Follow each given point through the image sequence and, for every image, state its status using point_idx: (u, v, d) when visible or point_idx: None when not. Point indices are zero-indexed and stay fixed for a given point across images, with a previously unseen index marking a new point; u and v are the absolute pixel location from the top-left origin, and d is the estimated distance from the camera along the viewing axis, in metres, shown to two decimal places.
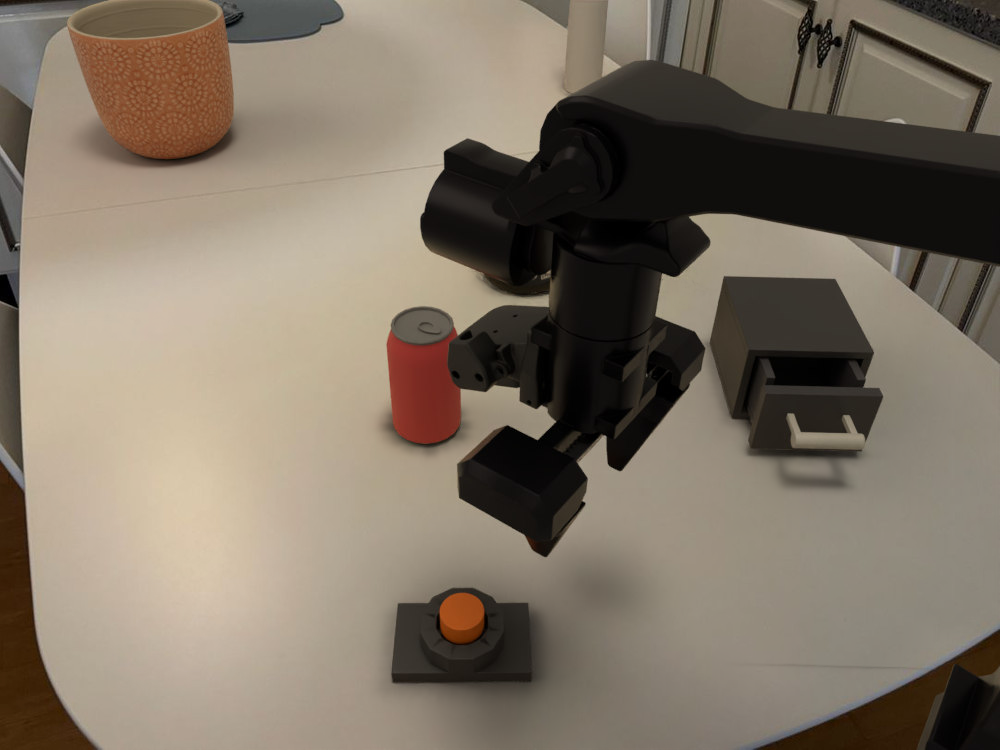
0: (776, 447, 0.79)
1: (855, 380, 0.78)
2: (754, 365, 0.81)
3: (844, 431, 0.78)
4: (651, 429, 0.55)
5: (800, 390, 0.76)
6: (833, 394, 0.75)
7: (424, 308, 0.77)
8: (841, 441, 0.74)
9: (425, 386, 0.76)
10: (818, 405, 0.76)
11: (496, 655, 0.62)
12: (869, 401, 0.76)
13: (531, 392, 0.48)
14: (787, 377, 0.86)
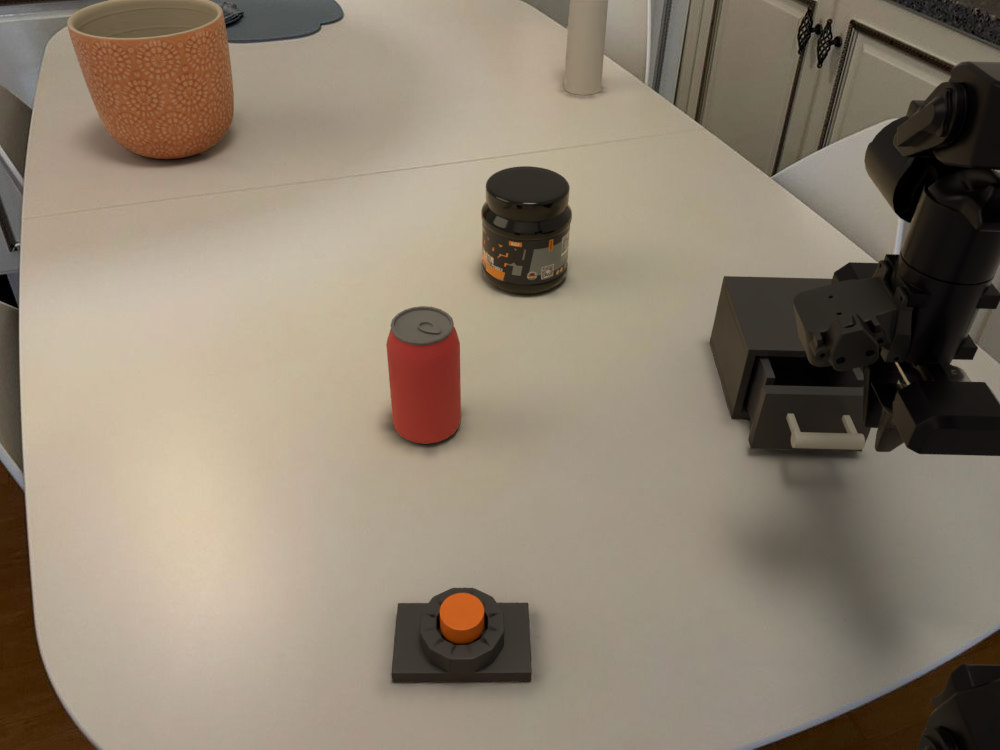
0: (776, 447, 0.79)
1: (855, 380, 0.78)
2: (754, 365, 0.81)
3: (844, 431, 0.78)
4: None
5: (800, 390, 0.76)
6: (833, 394, 0.75)
7: (424, 308, 0.77)
8: (841, 441, 0.74)
9: (425, 386, 0.76)
10: (818, 405, 0.76)
11: (496, 655, 0.62)
12: None
13: (902, 349, 0.56)
14: (787, 377, 0.86)
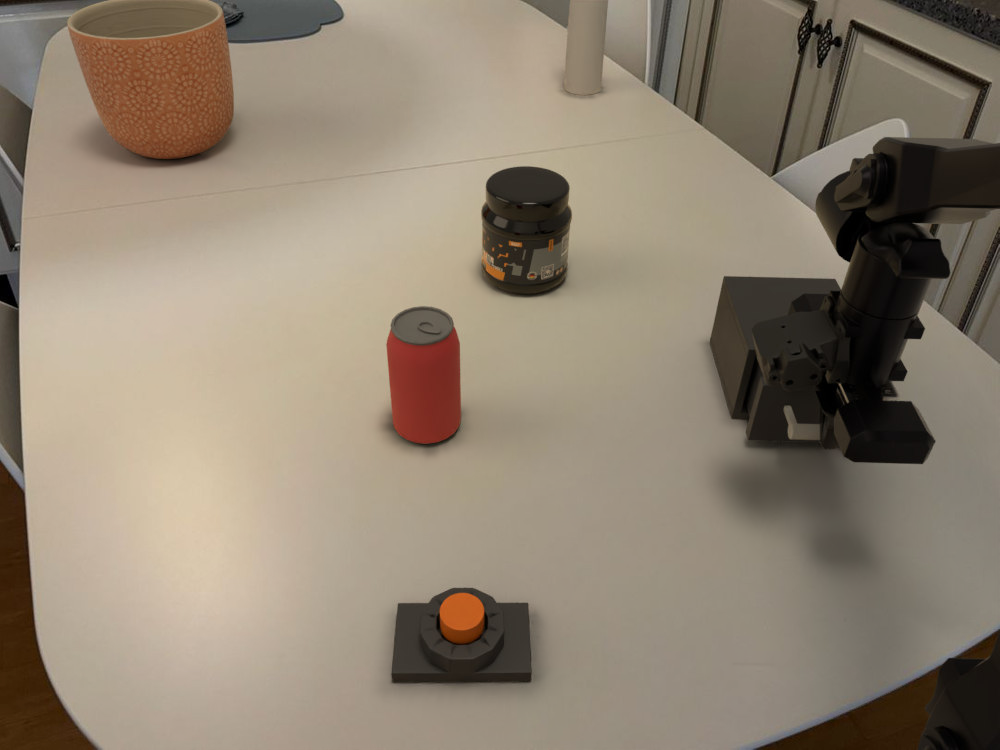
0: (773, 439, 0.80)
1: None
2: None
3: None
4: None
5: None
6: None
7: (424, 308, 0.77)
8: None
9: (425, 386, 0.76)
10: (815, 396, 0.77)
11: (496, 655, 0.62)
12: None
13: (842, 372, 0.66)
14: None
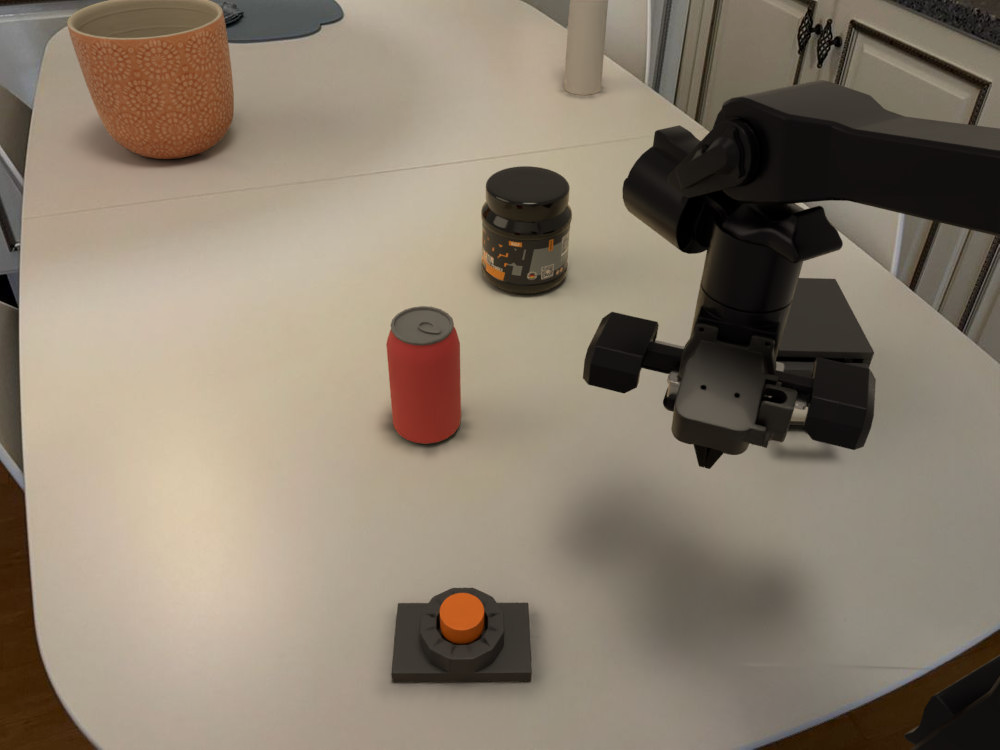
0: None
1: None
2: None
3: None
4: None
5: (790, 365, 0.78)
6: None
7: (424, 308, 0.77)
8: None
9: (425, 386, 0.76)
10: None
11: (496, 655, 0.62)
12: None
13: None
14: None
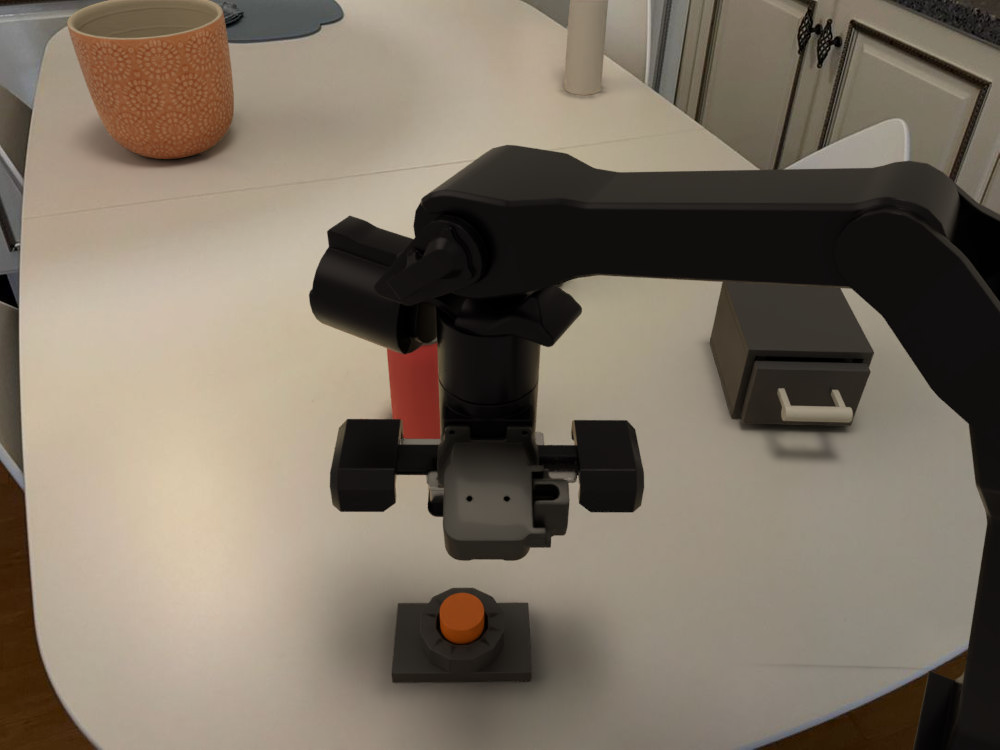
0: (767, 422, 0.82)
1: None
2: None
3: (833, 406, 0.81)
4: None
5: (790, 365, 0.78)
6: (822, 369, 0.78)
7: None
8: (830, 413, 0.76)
9: (425, 386, 0.76)
10: (808, 379, 0.79)
11: (496, 655, 0.62)
12: (857, 376, 0.78)
13: None
14: None
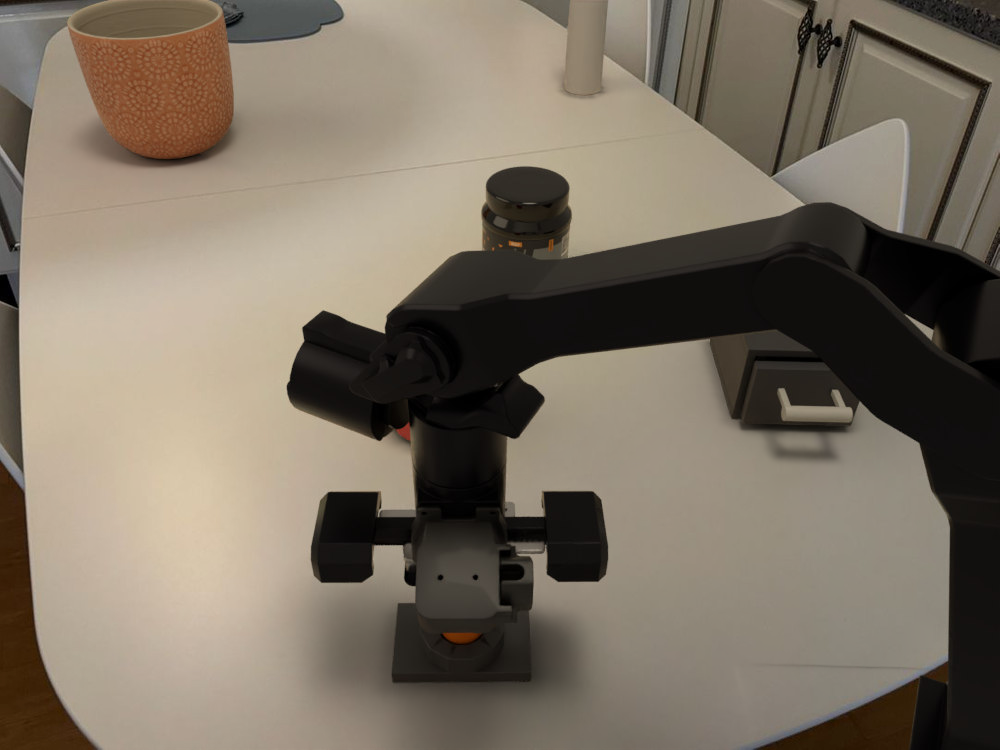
0: (767, 422, 0.82)
1: None
2: None
3: (833, 406, 0.81)
4: None
5: (790, 365, 0.78)
6: (822, 369, 0.78)
7: None
8: (830, 413, 0.76)
9: None
10: (808, 379, 0.79)
11: (496, 655, 0.62)
12: None
13: None
14: None
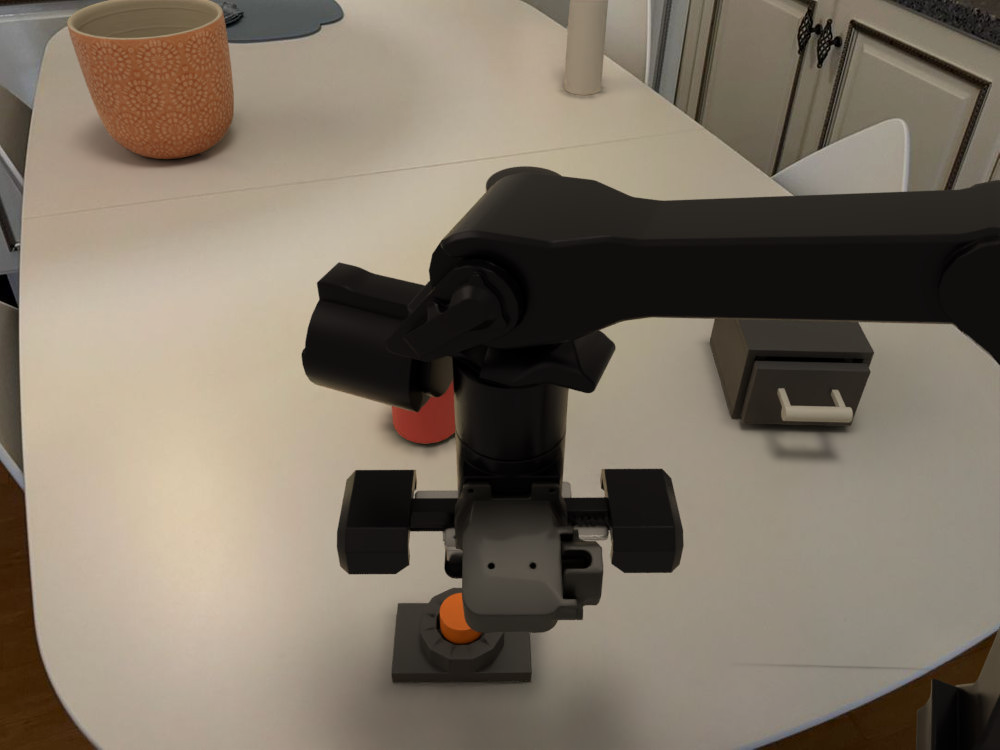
0: (767, 422, 0.82)
1: None
2: None
3: (833, 406, 0.81)
4: None
5: (790, 365, 0.78)
6: (822, 369, 0.78)
7: None
8: (830, 413, 0.76)
9: None
10: (808, 379, 0.79)
11: (496, 655, 0.62)
12: (857, 376, 0.78)
13: None
14: None
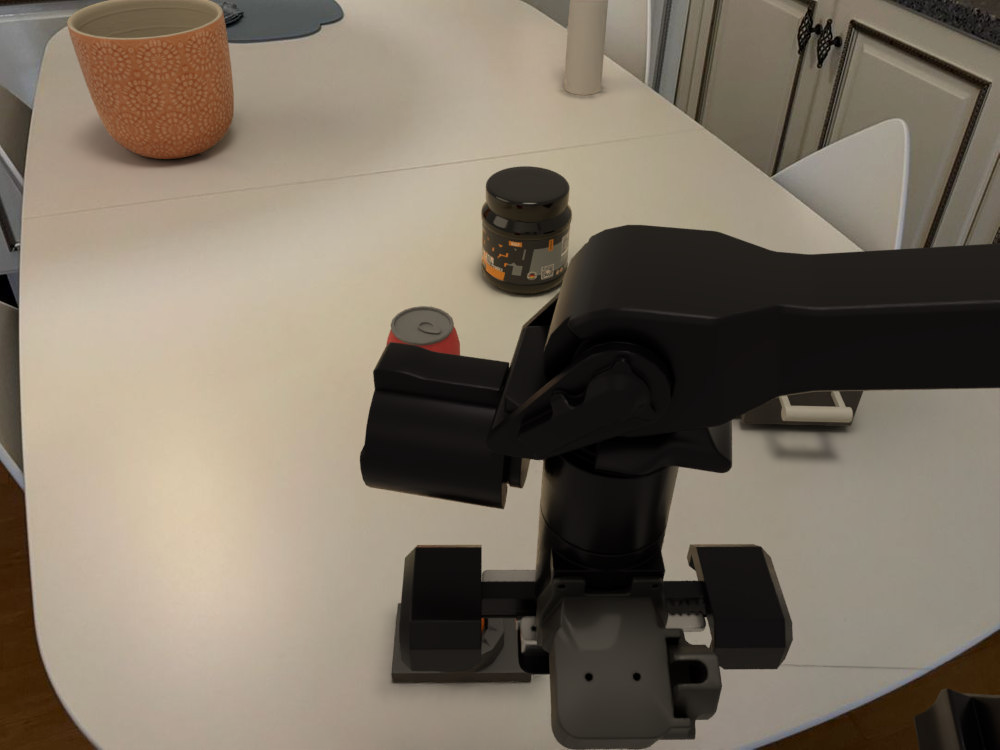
0: (767, 422, 0.82)
1: None
2: None
3: (833, 406, 0.81)
4: None
5: None
6: None
7: (424, 308, 0.77)
8: (830, 413, 0.76)
9: None
10: None
11: (496, 655, 0.62)
12: None
13: None
14: None
